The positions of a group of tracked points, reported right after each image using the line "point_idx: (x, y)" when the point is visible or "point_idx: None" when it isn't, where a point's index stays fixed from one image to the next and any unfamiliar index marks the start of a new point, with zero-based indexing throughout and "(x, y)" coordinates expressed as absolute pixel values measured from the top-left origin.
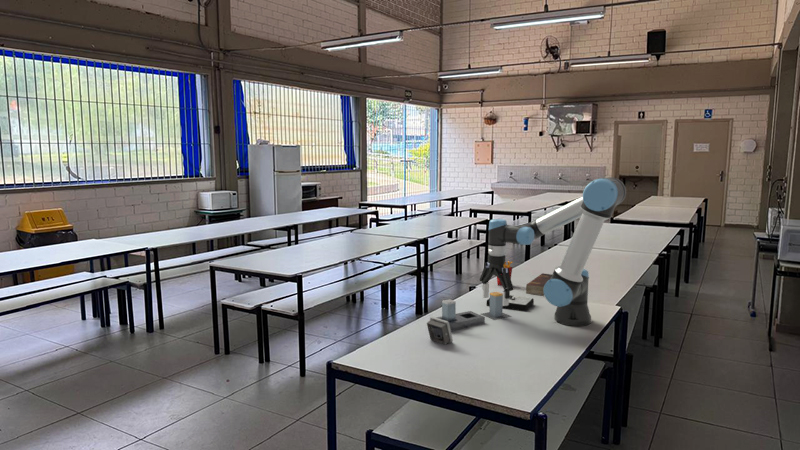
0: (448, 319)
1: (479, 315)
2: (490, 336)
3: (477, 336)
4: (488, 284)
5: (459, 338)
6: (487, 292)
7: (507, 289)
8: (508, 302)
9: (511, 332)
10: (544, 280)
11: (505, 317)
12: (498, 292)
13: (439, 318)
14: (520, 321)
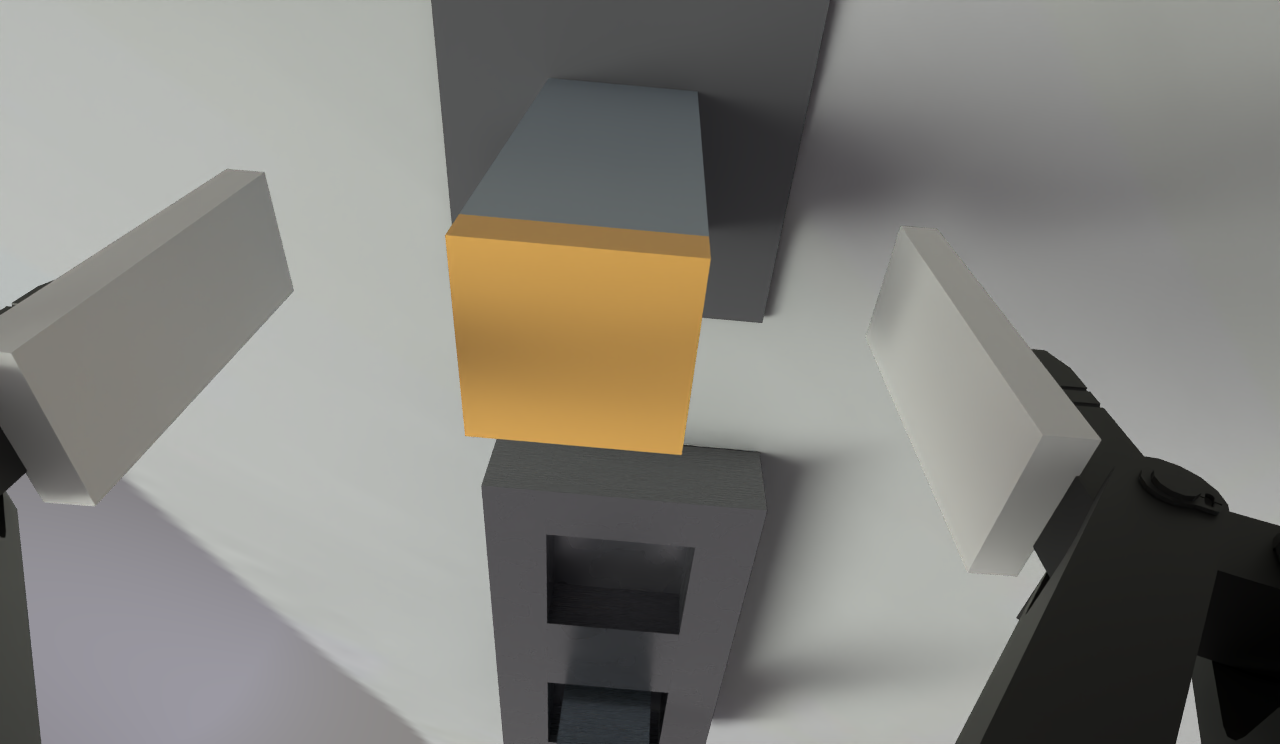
0: None
1: (684, 515)
2: (1025, 603)
3: (935, 653)
4: (44, 354)
5: (859, 727)
6: (209, 261)
7: (1205, 659)
8: (956, 258)
9: (1157, 432)
10: None
11: (797, 123)
12: (547, 265)
13: (539, 739)
14: (1071, 29)
